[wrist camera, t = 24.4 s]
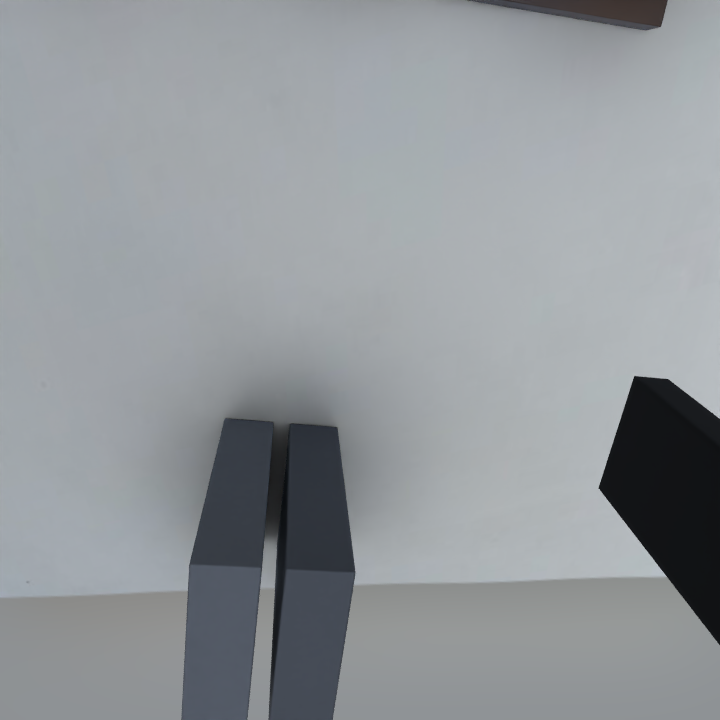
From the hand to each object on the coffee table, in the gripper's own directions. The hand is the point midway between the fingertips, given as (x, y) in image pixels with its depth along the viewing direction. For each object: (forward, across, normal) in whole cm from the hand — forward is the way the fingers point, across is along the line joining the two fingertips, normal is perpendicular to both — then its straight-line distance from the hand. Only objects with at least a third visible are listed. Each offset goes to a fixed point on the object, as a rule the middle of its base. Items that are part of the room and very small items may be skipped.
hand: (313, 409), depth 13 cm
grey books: (+24, 0, -18) cm, 30 cm away
